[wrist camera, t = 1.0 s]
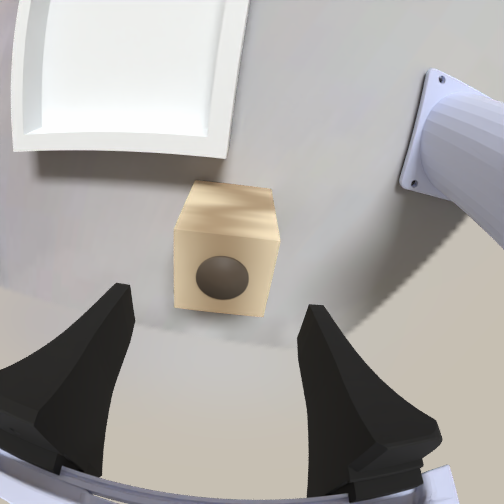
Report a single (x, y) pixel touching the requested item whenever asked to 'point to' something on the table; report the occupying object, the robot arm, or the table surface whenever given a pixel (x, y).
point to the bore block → (225, 249)
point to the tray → (126, 75)
